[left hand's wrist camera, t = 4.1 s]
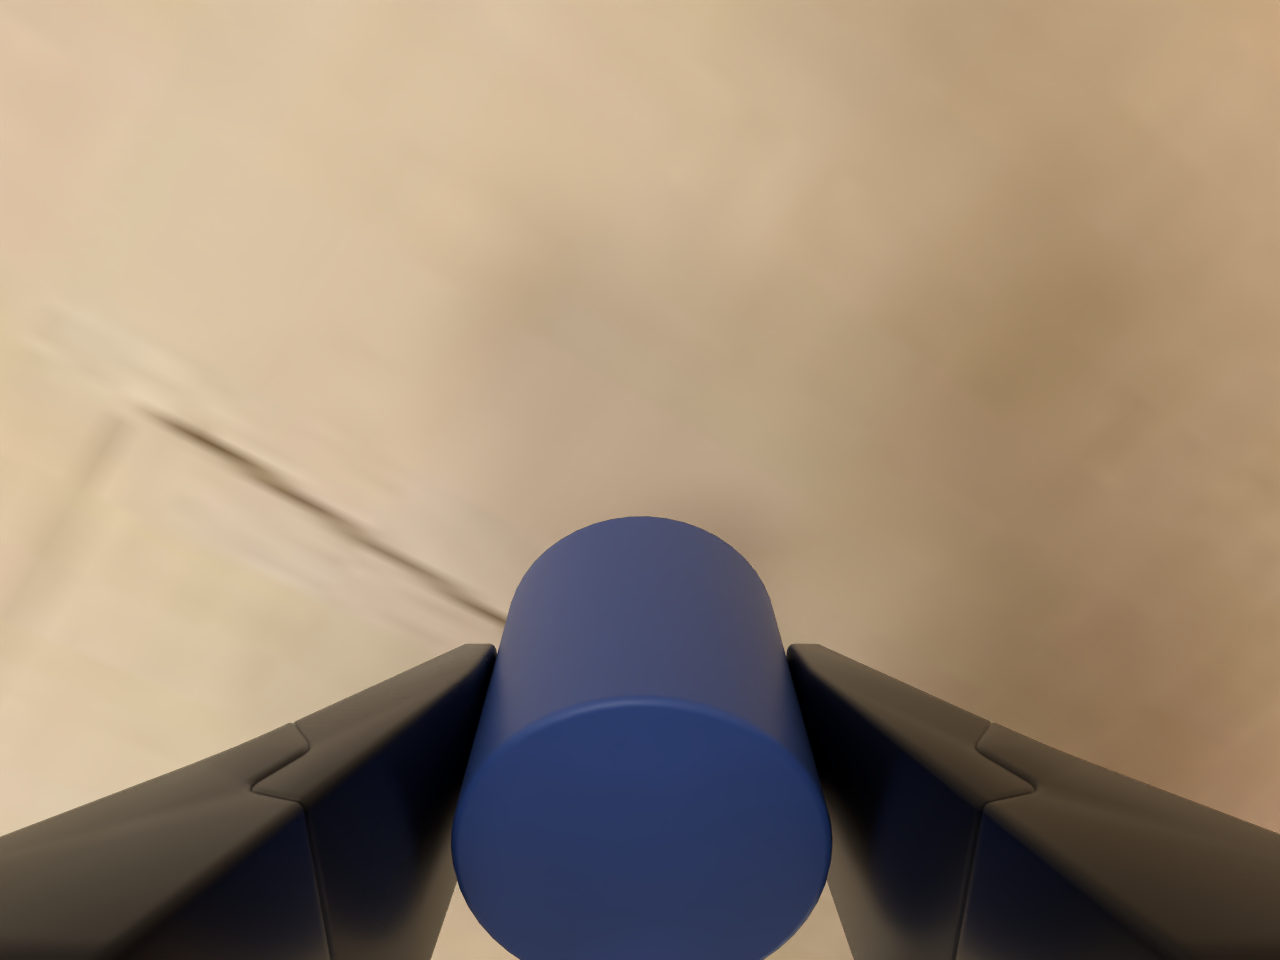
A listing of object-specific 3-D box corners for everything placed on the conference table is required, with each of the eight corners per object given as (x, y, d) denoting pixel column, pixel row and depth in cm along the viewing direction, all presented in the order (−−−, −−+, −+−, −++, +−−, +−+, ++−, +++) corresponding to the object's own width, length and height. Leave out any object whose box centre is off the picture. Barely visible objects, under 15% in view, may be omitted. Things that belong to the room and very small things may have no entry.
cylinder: (452, 606, 13) (368, 822, 9) (677, 461, 12) (696, 628, 8) (610, 784, 14) (598, 1046, 10) (824, 663, 13) (903, 897, 9)
